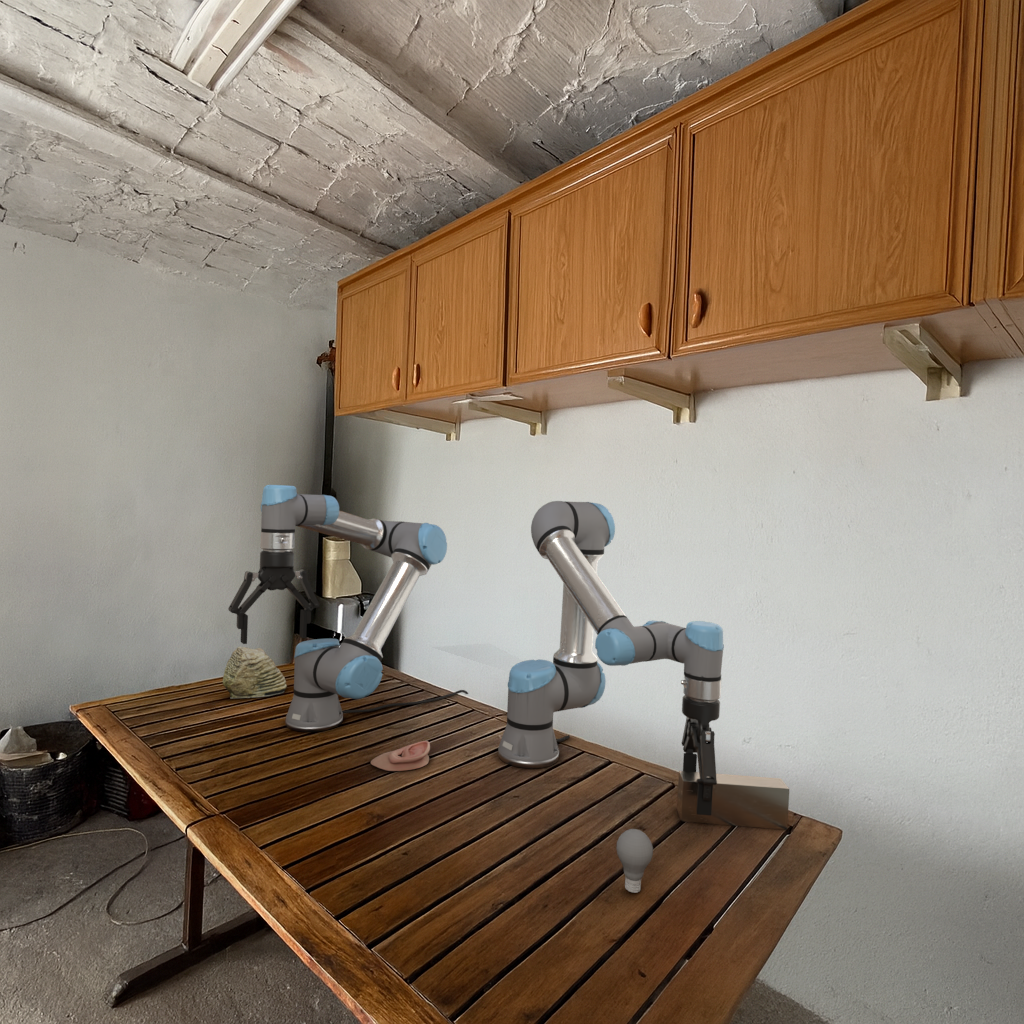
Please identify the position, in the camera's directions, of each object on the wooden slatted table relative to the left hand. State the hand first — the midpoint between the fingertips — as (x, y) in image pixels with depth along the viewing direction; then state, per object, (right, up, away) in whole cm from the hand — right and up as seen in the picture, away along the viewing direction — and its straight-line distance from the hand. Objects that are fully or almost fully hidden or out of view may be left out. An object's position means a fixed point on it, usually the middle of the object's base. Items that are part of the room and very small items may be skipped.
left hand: (274, 640), depth 150 cm
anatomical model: (+29, -30, +3) cm, 42 cm away
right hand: (+95, -30, -17) cm, 101 cm away
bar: (+102, -34, -18) cm, 109 cm away
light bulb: (+76, -33, -44) cm, 94 cm away
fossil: (-24, -27, +48) cm, 61 cm away
